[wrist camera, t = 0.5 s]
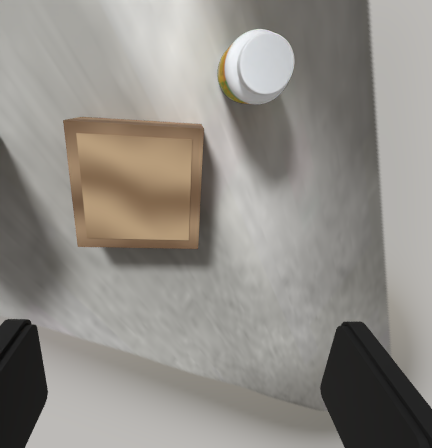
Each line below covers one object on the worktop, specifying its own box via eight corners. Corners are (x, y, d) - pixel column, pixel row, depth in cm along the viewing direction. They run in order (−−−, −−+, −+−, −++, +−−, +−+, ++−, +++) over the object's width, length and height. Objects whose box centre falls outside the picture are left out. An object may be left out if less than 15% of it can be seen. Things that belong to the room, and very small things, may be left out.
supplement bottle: (208, 89, 31) (217, 86, 22) (230, 32, 29) (249, 3, 20) (255, 111, 32) (282, 117, 23) (279, 58, 30) (318, 42, 21)
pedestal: (81, 116, 31) (62, 120, 26) (201, 124, 32) (203, 128, 27) (92, 227, 35) (77, 247, 31) (196, 229, 37) (198, 249, 32)
